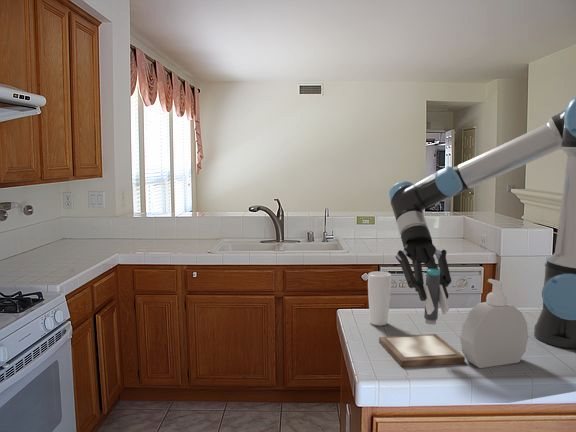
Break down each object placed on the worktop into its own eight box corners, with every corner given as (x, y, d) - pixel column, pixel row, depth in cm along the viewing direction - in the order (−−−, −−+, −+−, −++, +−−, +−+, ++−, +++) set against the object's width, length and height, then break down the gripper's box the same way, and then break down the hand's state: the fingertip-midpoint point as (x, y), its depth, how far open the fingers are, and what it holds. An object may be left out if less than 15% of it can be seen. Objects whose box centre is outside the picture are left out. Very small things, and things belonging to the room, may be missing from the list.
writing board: (435, 339, 140) (435, 333, 139) (464, 362, 124) (464, 356, 124) (378, 342, 137) (379, 336, 137) (401, 366, 121) (401, 360, 121)
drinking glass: (390, 327, 149) (391, 277, 147) (366, 326, 150) (367, 275, 148) (390, 320, 155) (391, 271, 153) (367, 318, 157) (368, 270, 155)
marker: (434, 320, 129) (436, 268, 128) (439, 324, 126) (442, 271, 125) (421, 320, 129) (424, 268, 127) (427, 325, 126) (429, 271, 124)
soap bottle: (511, 353, 130) (516, 276, 127) (527, 361, 125) (532, 281, 122) (457, 361, 125) (461, 281, 123) (471, 370, 120) (475, 286, 118)
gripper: (437, 239, 141) (464, 317, 127) (381, 240, 139) (401, 319, 125) (447, 223, 136) (476, 302, 121) (389, 224, 133) (411, 305, 119)
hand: (438, 311), depth 123 cm, fingers closed on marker, 3 cm apart
